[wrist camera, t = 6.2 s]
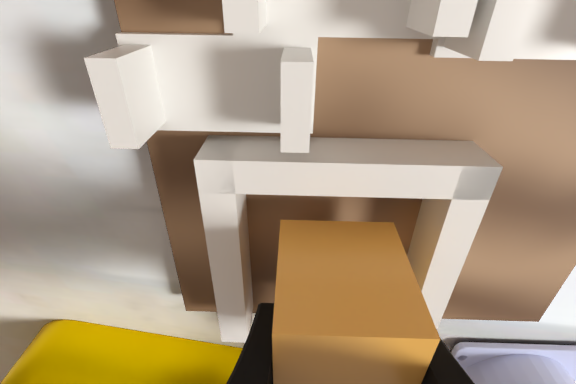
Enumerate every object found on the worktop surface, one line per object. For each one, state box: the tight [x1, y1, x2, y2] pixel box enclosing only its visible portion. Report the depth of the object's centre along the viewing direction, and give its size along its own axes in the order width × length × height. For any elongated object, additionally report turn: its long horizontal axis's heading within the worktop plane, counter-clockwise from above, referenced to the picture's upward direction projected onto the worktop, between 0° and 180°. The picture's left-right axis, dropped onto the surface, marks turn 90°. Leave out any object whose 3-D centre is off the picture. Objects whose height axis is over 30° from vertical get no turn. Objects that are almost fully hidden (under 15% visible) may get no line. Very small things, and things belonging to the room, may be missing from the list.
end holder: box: [194, 135, 503, 343], centre depth 13 cm, size 9×9×2 cm
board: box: [114, 0, 576, 322], centre depth 13 cm, size 16×18×1 cm
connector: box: [272, 220, 440, 384], centre depth 12 cm, size 9×4×4 cm, turn 179°
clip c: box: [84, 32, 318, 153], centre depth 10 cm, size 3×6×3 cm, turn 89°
